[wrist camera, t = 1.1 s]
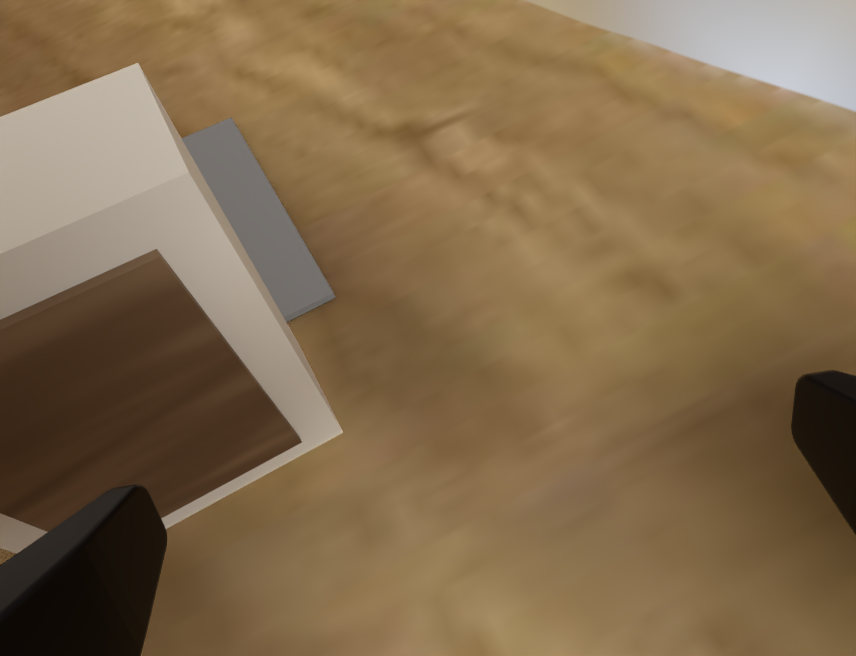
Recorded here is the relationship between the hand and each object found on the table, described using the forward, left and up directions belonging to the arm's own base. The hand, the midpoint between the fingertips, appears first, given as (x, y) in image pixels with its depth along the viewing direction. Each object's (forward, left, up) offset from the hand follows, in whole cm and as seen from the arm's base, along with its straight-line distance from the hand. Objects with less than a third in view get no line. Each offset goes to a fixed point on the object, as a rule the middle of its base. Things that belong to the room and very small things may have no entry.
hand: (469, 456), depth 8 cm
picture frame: (-4, +13, -14) cm, 20 cm away
